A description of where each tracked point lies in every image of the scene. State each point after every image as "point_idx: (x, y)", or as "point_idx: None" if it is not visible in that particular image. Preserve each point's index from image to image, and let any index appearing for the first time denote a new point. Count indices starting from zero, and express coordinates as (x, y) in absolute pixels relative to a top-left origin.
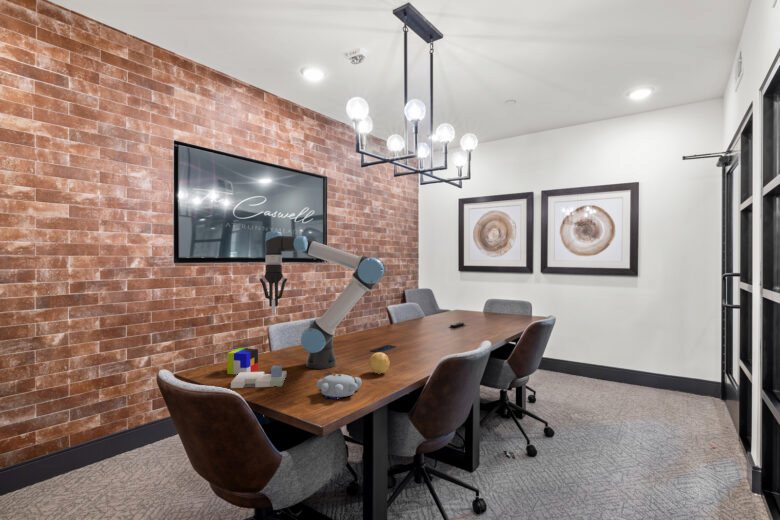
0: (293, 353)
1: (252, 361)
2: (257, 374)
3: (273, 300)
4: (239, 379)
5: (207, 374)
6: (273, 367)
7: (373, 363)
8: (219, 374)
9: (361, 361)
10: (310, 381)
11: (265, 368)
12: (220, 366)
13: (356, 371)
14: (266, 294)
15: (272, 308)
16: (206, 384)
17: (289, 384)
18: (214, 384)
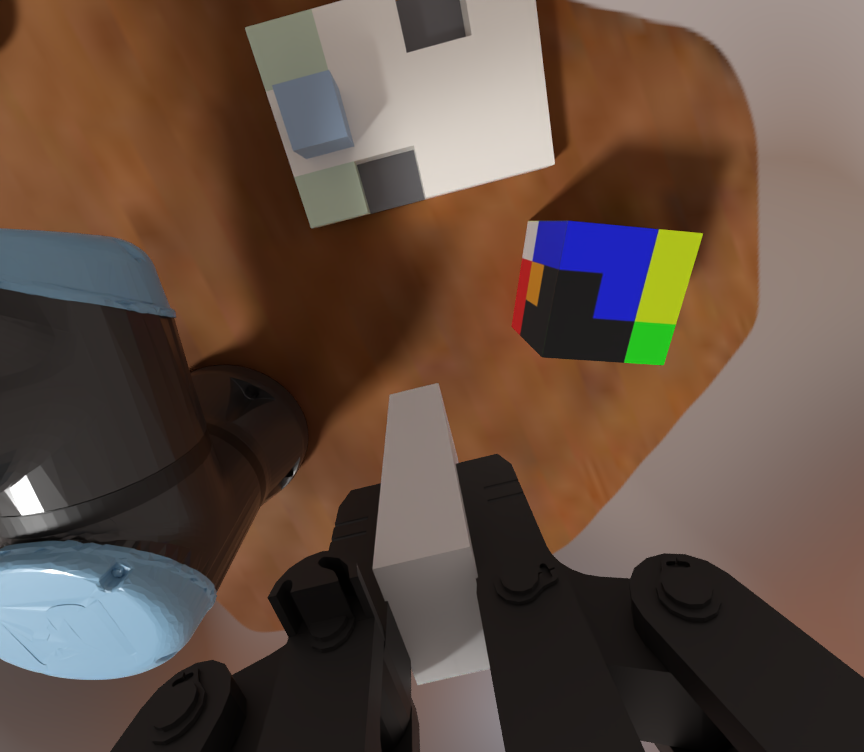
0: None
1: (534, 284)
2: (440, 136)
3: (413, 545)
4: (501, 18)
5: (726, 206)
6: (322, 91)
7: None
8: (667, 214)
9: None
10: (148, 154)
11: (479, 341)
12: (705, 342)
13: None
14: (790, 718)
15: (430, 423)
16: (675, 27)
17: (232, 84)
18: (633, 32)
